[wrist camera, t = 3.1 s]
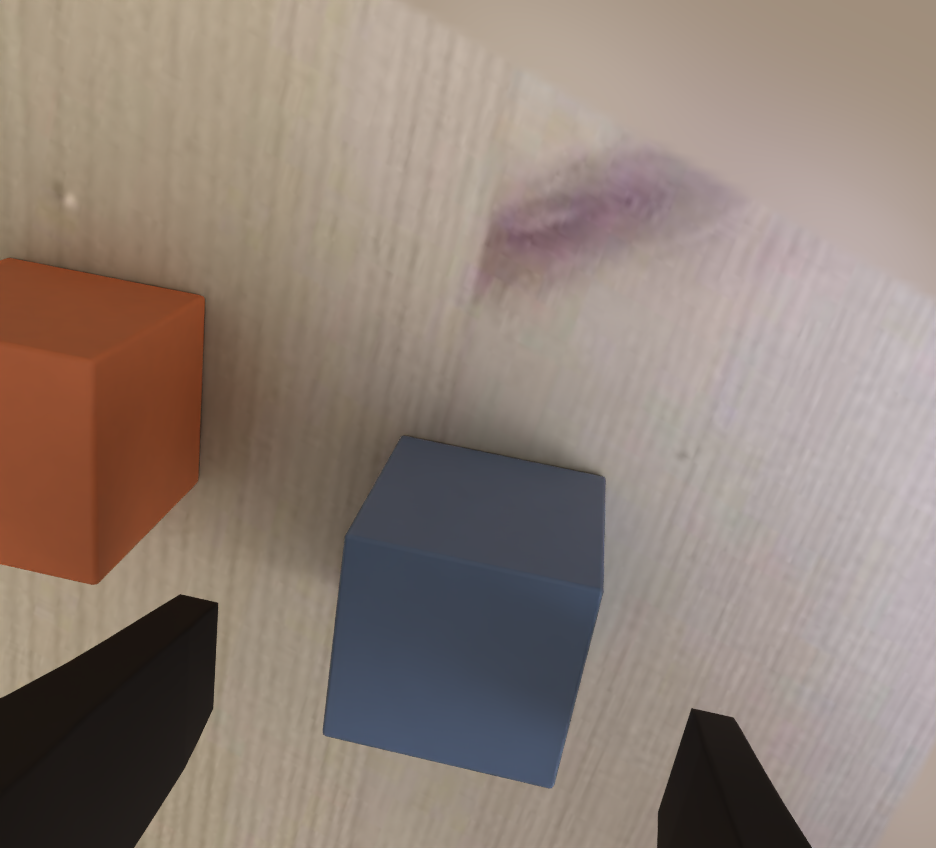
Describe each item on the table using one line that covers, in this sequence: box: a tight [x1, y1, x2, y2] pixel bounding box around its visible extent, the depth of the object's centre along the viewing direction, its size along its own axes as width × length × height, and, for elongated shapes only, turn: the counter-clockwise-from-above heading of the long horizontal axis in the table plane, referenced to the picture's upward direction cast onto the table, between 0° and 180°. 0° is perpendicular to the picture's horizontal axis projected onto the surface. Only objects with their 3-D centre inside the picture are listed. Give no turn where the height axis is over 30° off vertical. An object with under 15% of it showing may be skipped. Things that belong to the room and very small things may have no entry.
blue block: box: [323, 436, 606, 788], centre depth 16 cm, size 4×4×4 cm
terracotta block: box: [0, 258, 205, 585], centre depth 16 cm, size 4×4×4 cm
